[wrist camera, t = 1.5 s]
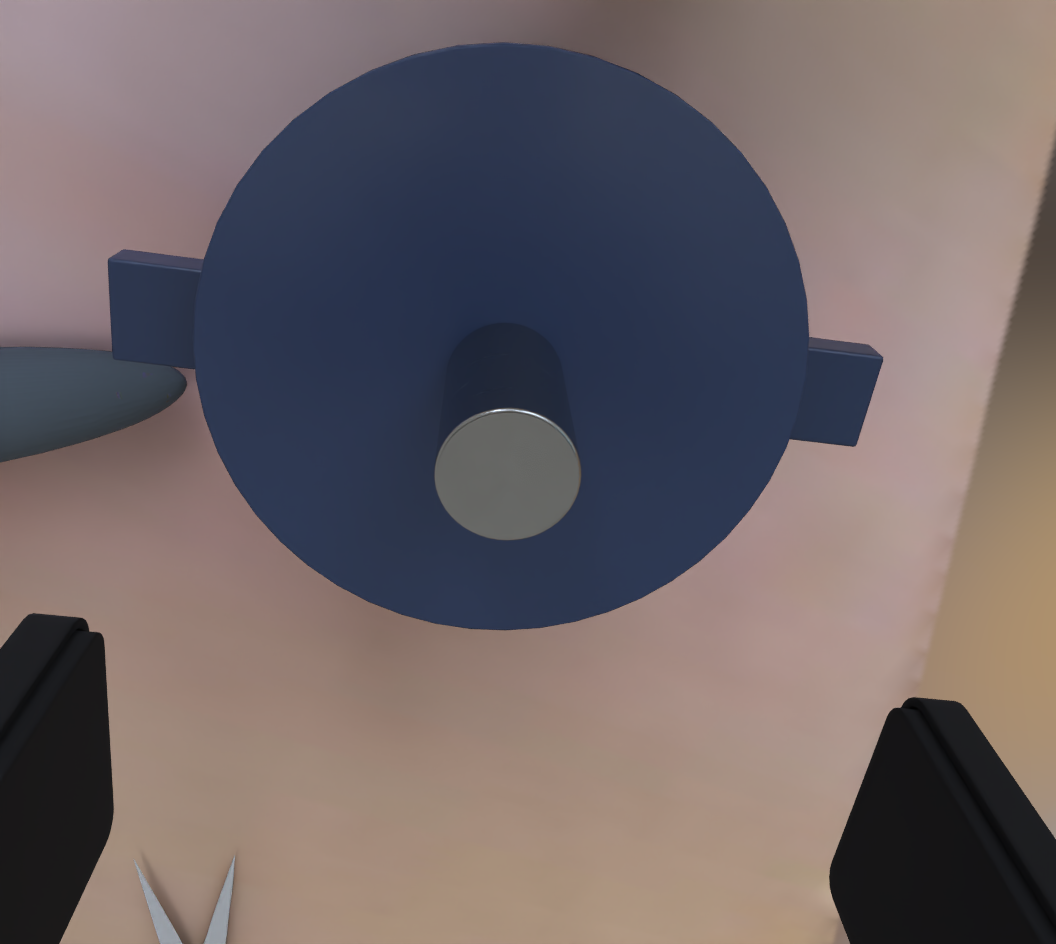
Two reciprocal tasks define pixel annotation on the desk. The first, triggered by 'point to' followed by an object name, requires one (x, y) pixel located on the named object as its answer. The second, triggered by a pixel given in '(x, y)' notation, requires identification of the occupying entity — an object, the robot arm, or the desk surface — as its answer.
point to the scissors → (219, 923)
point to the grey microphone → (75, 396)
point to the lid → (501, 336)
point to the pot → (167, 339)
